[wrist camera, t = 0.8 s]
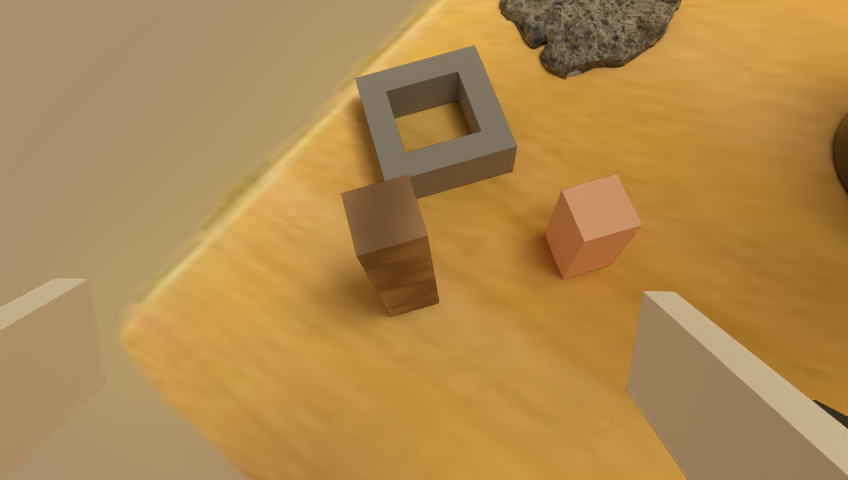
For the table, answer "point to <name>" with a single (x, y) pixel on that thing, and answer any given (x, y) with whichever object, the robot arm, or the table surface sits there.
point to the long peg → (392, 244)
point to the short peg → (591, 226)
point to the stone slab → (589, 30)
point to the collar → (430, 88)
